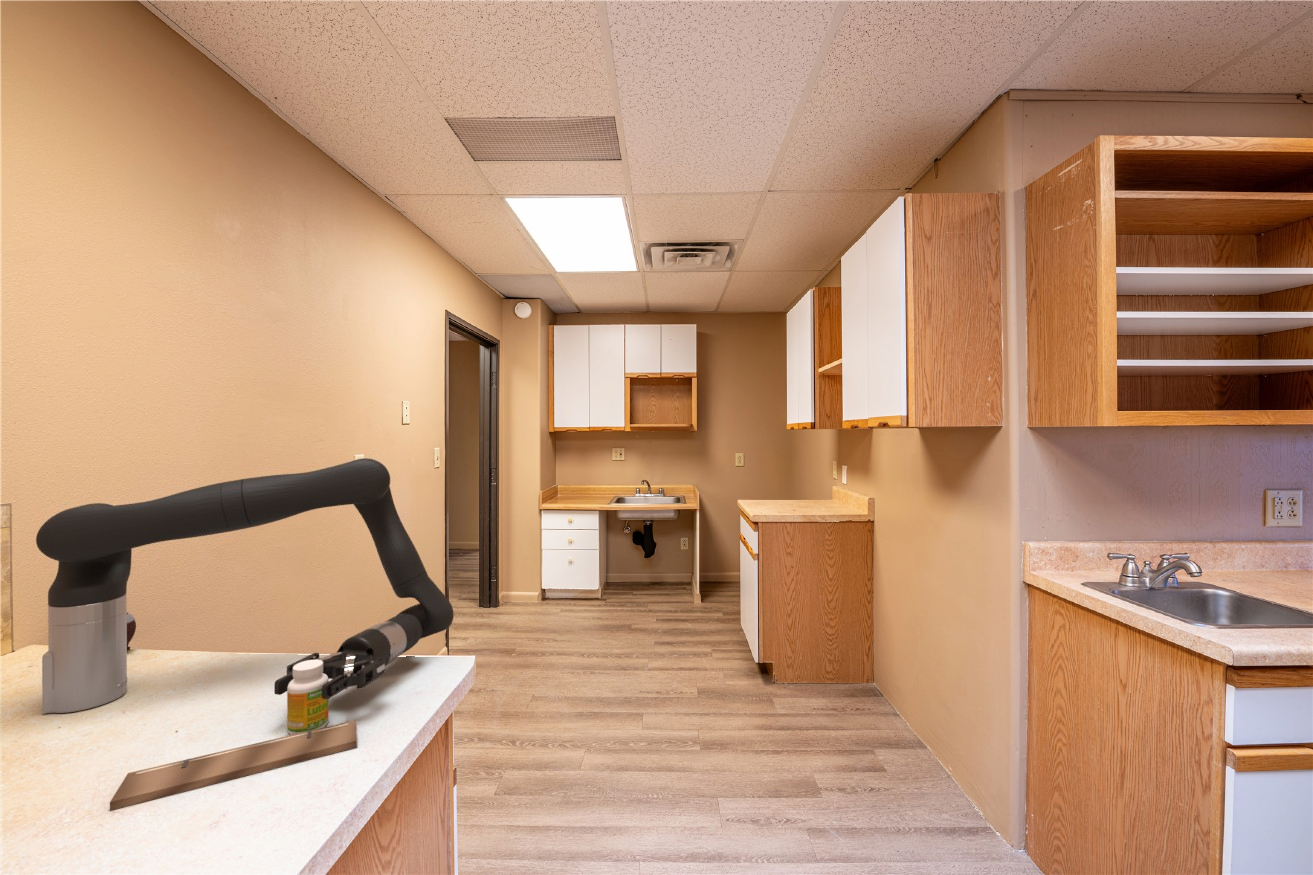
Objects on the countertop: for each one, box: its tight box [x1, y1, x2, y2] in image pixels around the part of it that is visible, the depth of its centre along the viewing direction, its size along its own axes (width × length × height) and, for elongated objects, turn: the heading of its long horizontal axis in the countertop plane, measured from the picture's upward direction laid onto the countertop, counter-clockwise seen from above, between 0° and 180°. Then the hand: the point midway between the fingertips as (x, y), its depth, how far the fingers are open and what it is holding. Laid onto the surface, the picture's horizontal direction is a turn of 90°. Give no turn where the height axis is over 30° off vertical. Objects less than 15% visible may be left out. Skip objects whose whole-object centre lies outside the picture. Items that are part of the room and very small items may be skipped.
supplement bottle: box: [286, 660, 330, 735], centre depth 84 cm, size 5×5×10 cm
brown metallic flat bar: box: [109, 719, 358, 811], centre depth 74 cm, size 26×6×1 cm, turn 120°
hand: (300, 690), depth 82 cm, fingers open, 8 cm apart
